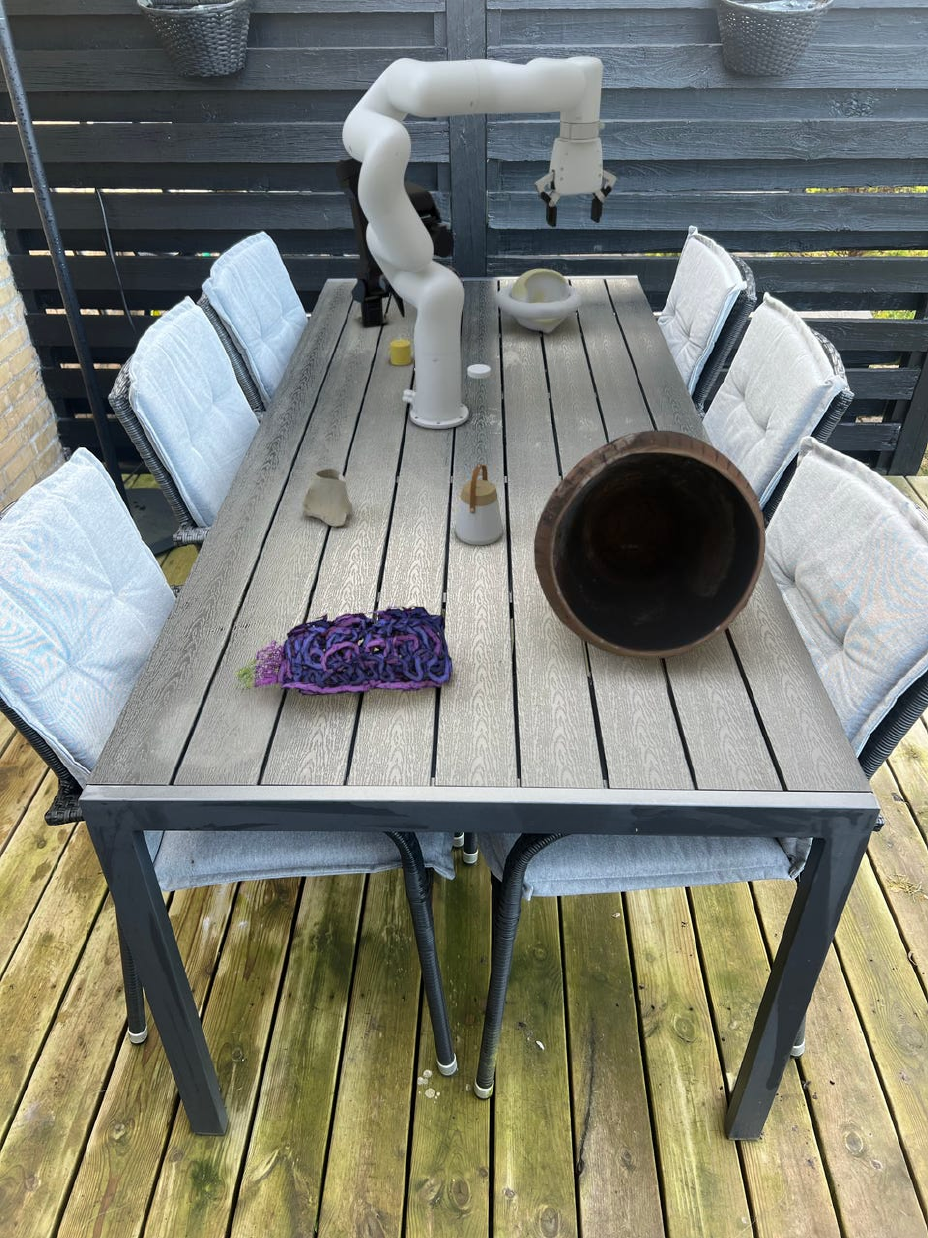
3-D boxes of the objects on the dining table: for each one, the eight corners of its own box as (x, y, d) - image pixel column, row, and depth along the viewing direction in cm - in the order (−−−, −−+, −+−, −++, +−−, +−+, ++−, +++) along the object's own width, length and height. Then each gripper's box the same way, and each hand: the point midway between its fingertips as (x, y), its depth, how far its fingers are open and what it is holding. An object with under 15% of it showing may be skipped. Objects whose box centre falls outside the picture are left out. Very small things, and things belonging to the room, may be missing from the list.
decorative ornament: (458, 672, 122) (225, 684, 119) (455, 713, 130) (238, 725, 128) (450, 592, 130) (231, 602, 127) (447, 636, 138) (243, 646, 135)
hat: (489, 313, 250) (490, 256, 241) (569, 310, 251) (573, 252, 242) (502, 348, 230) (503, 287, 221) (589, 343, 232) (594, 283, 223)
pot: (569, 390, 148) (614, 390, 119) (739, 473, 153) (822, 494, 124) (483, 572, 154) (505, 616, 125) (649, 647, 159) (708, 705, 130)
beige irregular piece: (352, 523, 169) (358, 468, 167) (345, 530, 162) (351, 474, 159) (303, 516, 169) (308, 461, 167) (294, 523, 162) (299, 466, 159)
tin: (410, 357, 227) (410, 339, 224) (411, 365, 223) (410, 346, 220) (391, 357, 226) (390, 339, 224) (390, 365, 223) (389, 347, 220)
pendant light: (493, 549, 158) (495, 382, 140) (448, 540, 161) (445, 375, 142) (508, 525, 164) (512, 362, 146) (465, 517, 167) (463, 355, 148)
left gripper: (390, 262, 210) (394, 330, 220) (467, 252, 215) (468, 319, 225) (376, 249, 219) (381, 315, 228) (450, 240, 224) (452, 305, 233)
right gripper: (611, 124, 186) (604, 215, 196) (530, 130, 182) (527, 222, 192) (627, 131, 180) (619, 224, 190) (544, 137, 176) (541, 232, 186)
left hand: (421, 314), depth 228 cm, fingers open, 9 cm apart
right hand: (573, 223), depth 191 cm, fingers open, 9 cm apart
